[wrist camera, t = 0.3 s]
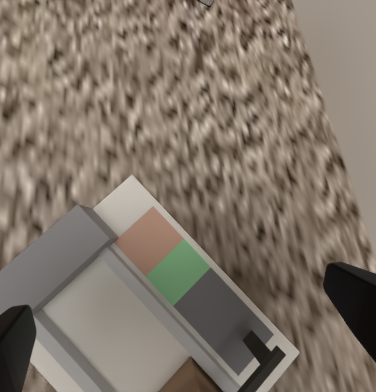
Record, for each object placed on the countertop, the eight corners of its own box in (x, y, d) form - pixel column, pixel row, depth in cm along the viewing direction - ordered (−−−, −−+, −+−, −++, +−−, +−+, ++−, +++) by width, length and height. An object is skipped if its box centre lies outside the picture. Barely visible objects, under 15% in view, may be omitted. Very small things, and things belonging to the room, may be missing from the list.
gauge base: (290, 343, 21) (329, 378, 16) (166, 491, 19) (168, 584, 14) (133, 178, 22) (125, 162, 17) (-5, 300, 19) (-63, 324, 14)
